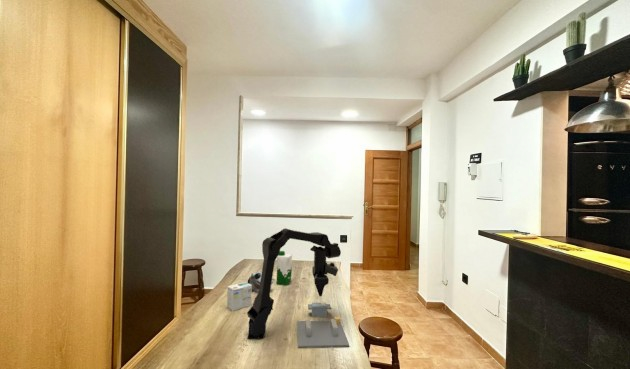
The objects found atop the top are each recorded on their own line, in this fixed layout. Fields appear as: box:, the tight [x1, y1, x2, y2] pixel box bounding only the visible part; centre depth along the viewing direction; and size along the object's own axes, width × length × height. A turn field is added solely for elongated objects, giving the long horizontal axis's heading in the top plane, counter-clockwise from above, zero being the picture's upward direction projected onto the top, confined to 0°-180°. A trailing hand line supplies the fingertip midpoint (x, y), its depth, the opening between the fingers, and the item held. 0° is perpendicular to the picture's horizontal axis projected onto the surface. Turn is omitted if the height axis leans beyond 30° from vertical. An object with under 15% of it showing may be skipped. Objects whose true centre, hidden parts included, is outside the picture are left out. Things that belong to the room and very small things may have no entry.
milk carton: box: [276, 250, 293, 286], centre depth 179 cm, size 9×9×20 cm
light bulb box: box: [226, 281, 253, 312], centre depth 143 cm, size 11×7×11 cm, turn 134°
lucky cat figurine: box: [247, 271, 275, 293], centre depth 166 cm, size 15×12×14 cm
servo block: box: [307, 301, 332, 318], centre depth 136 cm, size 11×4×6 cm, turn 95°
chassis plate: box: [296, 316, 350, 349], centre depth 118 cm, size 20×20×4 cm
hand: (319, 292), depth 133 cm, fingers open, 9 cm apart
